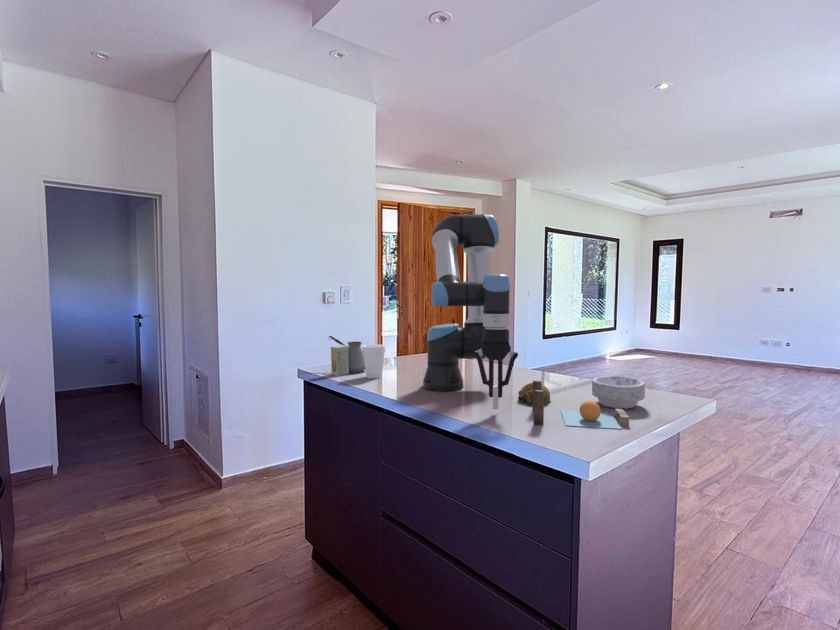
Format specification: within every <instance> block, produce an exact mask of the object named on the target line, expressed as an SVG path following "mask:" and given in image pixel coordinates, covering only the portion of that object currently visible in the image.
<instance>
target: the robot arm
mask: <svg viewBox="0 0 840 630" xmlns="http://www.w3.org/2000/svg"><path fill="white" fill-rule="evenodd" d="M499 233H500V232H499V225H498V221H497V219H496V217H495V216H494V215H493V214H484V213H479V214H473V213H472V214H459V213H458V214H451V215H447V216H446V217H444V218H443V219H441V220H440V221H439V222H438V223H437V224H436V225H435V226H434V228H433V230H432V233H431V245H432V248H433V249H434V256H435V271H436V272H435V273H436V274H435V275H436V281H435V282H434V281H433V282H432V283H431V303H432V304H431V305H433V306H435V307H444V308H446V307H467V313H468V316H467V319H466V320H465V321H464V323H463V327H460V324H459V323H445V324H439V325H438V324H437V325H433V326H430V327H429V329H428V330H427V338H426V341H427V367H426V370H425V373H424V375H423V379H422V387H423V389H425V390H430V391H435V392H436V391H437V392H451V391H452V392H453V391H458V390H462V389H463V388H464V378H463V375H462V373H461V369H460V365H459V363H460V362H459V361H460V359H461V360H467V359H468V360H469V359H470V360H472V359H473V360H474V359H475V360H476V361H477V364H478V365H477V366H478V368H479V373H480V377H481V380H482V381H481V382H482V384H483V385H487V386H488V397H489V398H492V410H496V411H497V410H499V398H500V399H501V398H503V387H504V386H508V385H509V383H510V379H511V376H512V371H513V367H514V364H515V361H516V359H517V358H518V357H519V352H518V351H515V350H514V349H512V347H511V345H510V344H511V343H510V329H509V327H510V294H511V293H510V292H511V291H510V289H511V285H510V283H511V282H510V276H509V275H508V274H491V272H492V271H491V267H492V266H491V254H492V253H493V252H494V251H495V247H496V246H498V245H499V241H500V240H499V239H500V238H499V236H500V235H499ZM459 246H460V247H463V249H462V251H463V253H465V254H466V255H467V256H466V257H467V281H461V276H460V275H461V274H460V267H459V261H458V258H459V257H458V251H457V247H459ZM508 354H509V358H510V359H509V362H508V366H507V370H506V373H505V377H504V380H503V375H504V374H503V369H504V368H503V362H504V359H505V358H506V357H507V356H508ZM485 359H488V377H487V373H486V369H485V365H484V361H483V360H485ZM495 361H497V384H495V385H494V383H495V382H494V378H495V377H494V374H495V371H494V370H495V368H494V364H495V363H494V362H495Z"/></svg>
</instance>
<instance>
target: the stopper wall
mask: <svg viewBox="0 0 840 630" xmlns="http://www.w3.org/2000/svg"><path fill="white" fill-rule="evenodd" d="M614 419H615V420H616V421H617V423H618V424H619V426H620V427H630V416H629V415H628V414H627V413H626V411H625V410H624V409H617V408H614Z"/></svg>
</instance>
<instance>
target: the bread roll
mask: <svg viewBox="0 0 840 630" xmlns="http://www.w3.org/2000/svg"><path fill="white" fill-rule="evenodd" d="M542 391H544V405H548V404H551V402H552V401H551V394H550V390H549V389H548V387H547V386H546V385H544V384H542ZM517 399H518V400H519V401H520V402H521V403H523V404H528V405H533V382H530V383H527V384H525V385H524V386H523V387H522V388H521V389H520V390H519V391H518V397H517Z"/></svg>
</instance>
